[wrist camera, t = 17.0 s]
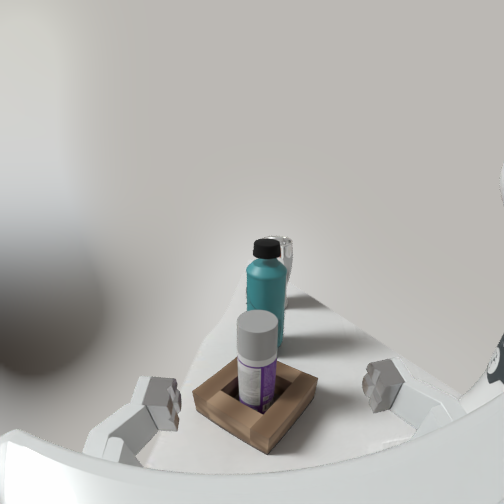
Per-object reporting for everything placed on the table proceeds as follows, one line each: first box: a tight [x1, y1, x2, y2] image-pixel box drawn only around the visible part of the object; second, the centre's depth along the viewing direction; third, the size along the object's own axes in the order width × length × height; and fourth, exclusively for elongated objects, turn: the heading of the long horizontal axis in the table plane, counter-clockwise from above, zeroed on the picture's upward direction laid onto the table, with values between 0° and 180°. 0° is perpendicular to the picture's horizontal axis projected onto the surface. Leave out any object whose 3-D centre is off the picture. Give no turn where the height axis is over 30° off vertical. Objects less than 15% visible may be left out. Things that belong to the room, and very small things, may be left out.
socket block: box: [192, 357, 318, 455], centre depth 34 cm, size 12×12×4 cm
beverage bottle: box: [246, 238, 287, 348], centre depth 44 cm, size 6×7×20 cm
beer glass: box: [262, 236, 293, 308], centre depth 59 cm, size 7×7×15 cm
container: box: [237, 310, 278, 415], centre depth 32 cm, size 5×5×15 cm
